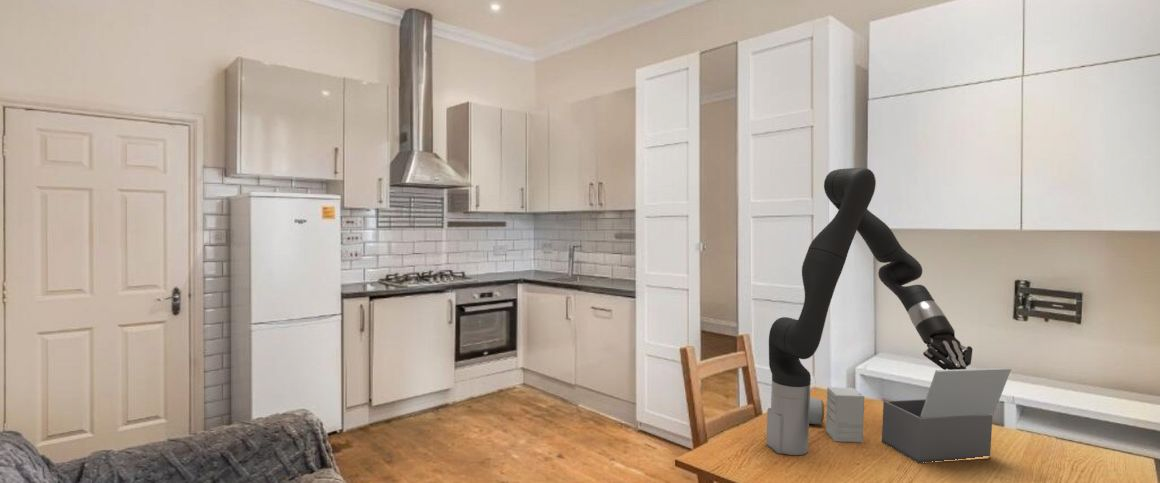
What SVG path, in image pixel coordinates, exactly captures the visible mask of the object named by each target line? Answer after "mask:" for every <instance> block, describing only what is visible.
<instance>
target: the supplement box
mask: <svg viewBox="0 0 1160 483" xmlns="http://www.w3.org/2000/svg"><path fill="white" fill-rule="evenodd" d="M826 390H827V393H826V394H827V395H826V416H825V417H826V418H825V419H826V420H825V431H826V433H827V434H828V435H829V436H830V438H831V439H832V440H833V441H835V442H842V443H845V442H846V443H848V442H849V443H863V442H864V441H863V440H864V422H865V421H864V418H865V417H864V416H865V395H863V394H862V393H861V392H860V391H858V390H857V389H856V388H855V387H839V386H838V387H835V386H827V389H826Z"/></svg>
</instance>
